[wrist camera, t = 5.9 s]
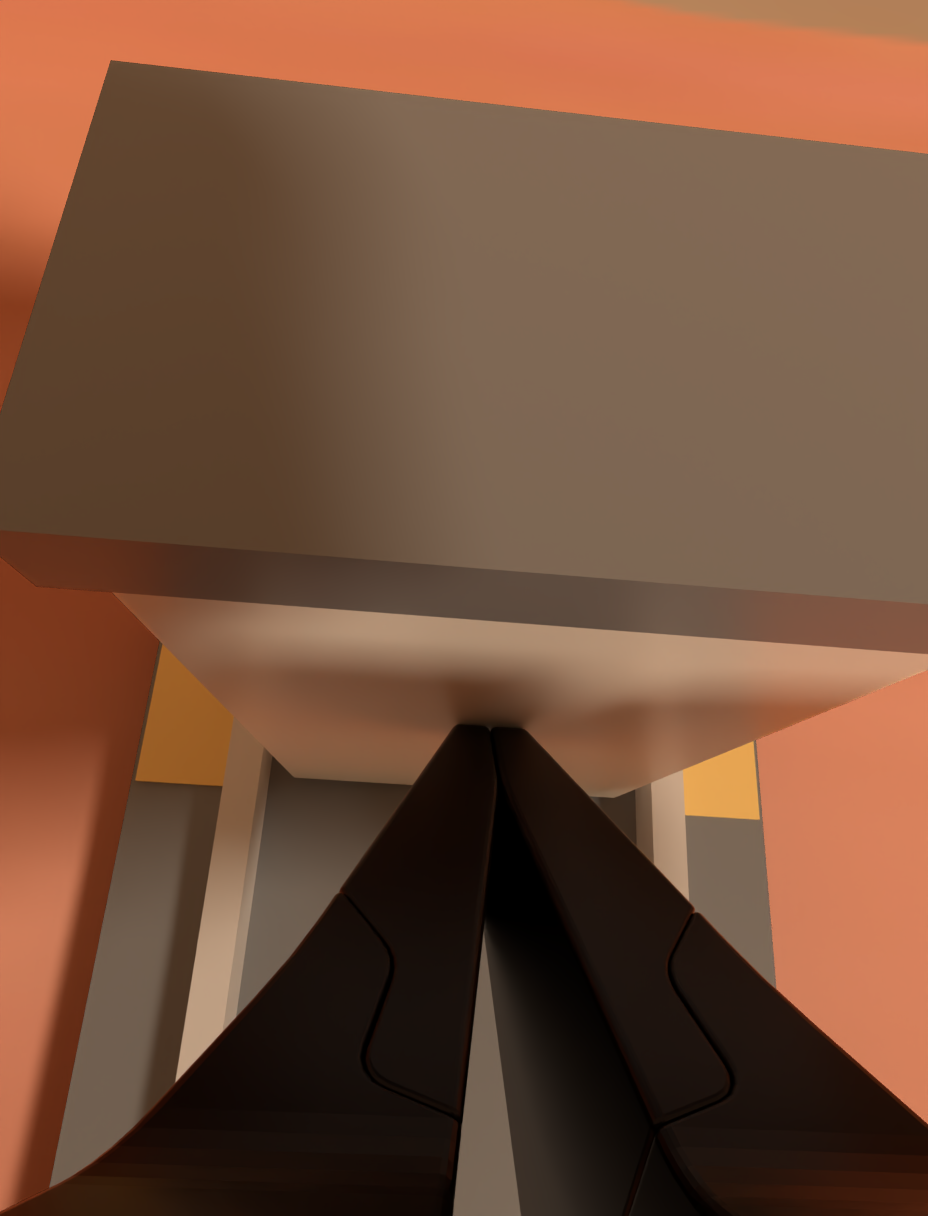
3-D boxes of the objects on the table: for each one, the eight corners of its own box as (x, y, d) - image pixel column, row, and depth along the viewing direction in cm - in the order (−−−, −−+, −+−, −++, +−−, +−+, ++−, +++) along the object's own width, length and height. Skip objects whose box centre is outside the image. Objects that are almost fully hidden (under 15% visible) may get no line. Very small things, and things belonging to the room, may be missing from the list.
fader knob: (624, 809, 14) (1174, 624, 4) (281, 788, 14) (-35, 527, 4) (621, 637, 15) (1042, 166, 5) (304, 614, 15) (110, 59, 5)
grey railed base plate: (784, 1615, 12) (878, 1793, 10) (-1, 1614, 11) (-107, 1805, 9) (718, 646, 17) (767, 609, 15) (190, 606, 17) (157, 560, 14)
